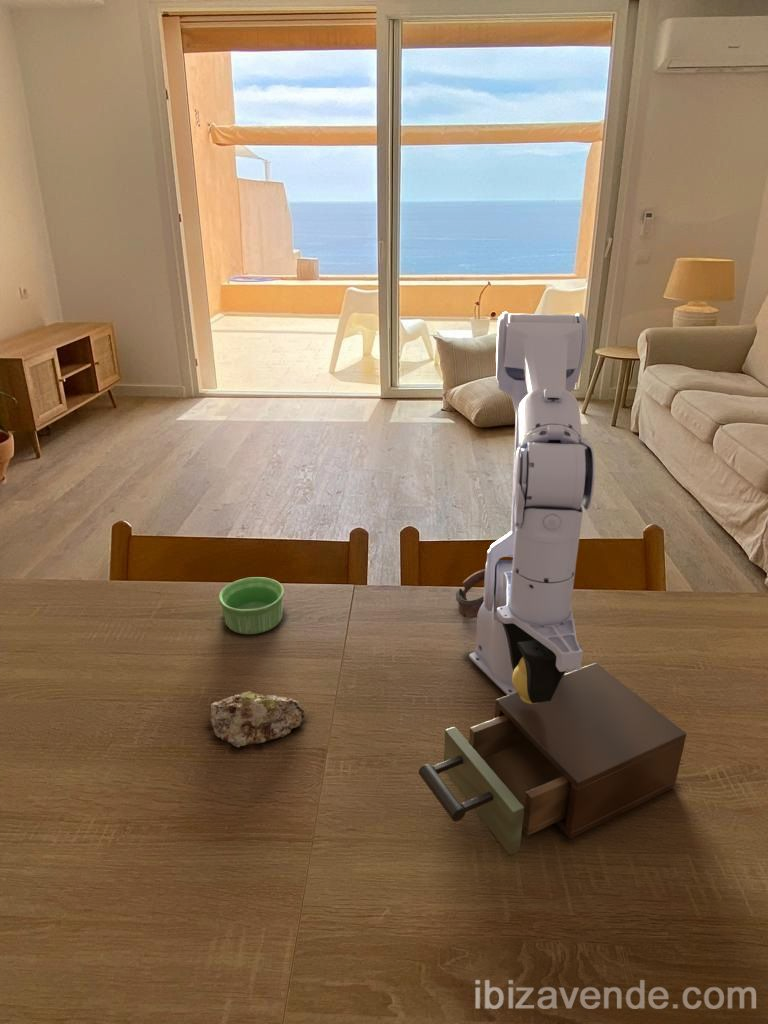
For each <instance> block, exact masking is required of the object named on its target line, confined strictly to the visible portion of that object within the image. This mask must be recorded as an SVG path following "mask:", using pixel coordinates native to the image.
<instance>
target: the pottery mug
mask: <svg viewBox="0 0 768 1024" xmlns="http://www.w3.org/2000/svg"><path fill="white" fill-rule="evenodd" d="M462 581H463V582H462V583H461V585H462V586H463V588H464V589H462V588H458V590H457V591H456V592H455V599H456V602H457V611H458V613H459V615H460V616H462V617H463V618H467V619H477V615H478V611H479V609H480V607H481V605H482V604H483V602H484V595H483V596H481V597H479V598H476V599H472V600H471V599H470V600H468V598H467V593H468V592H469V591H470V590H471V589H472V588H473V587H474V586H475V585H477V584H479V583H480V582H482V581H485V568H484V569H480V570H478V571H476V572H474V573H472V574H471V575H469V576H468V577H466V579H464V580H462Z"/></svg>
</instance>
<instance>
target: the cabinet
mask: <svg viewBox="0 0 768 1024" xmlns="http://www.w3.org/2000/svg"><path fill="white" fill-rule="evenodd" d="M494 706H495V707H494V708H495V709H494V719H495V718H498V717H500V716H503V715H505V716H506V717H507V718H508V719H509V720H510V721H511V722H512V723H513V724H514V725H515V726H516V727H517V728H518V729H519V730H520V731H521V732H522V733H523V734H524V735H525V736H526V737H527V738H528V739H529V740H530V741H531V742H532V743H533V744H534V745H535V746H536V747H537V748H538V749H539V750H540V752H541V753H542V754H543V755H544V756H545V757H546V758H547V759H548V760H549V761H550V762H551V763H552V764H553V765H554V766H555V767H556V768H557V769H558V770H559V771H560V772H561V773H562V774H563V775H564V776H565V777H566V778H567V779H568V780H569V781H570V782H571V783H572V784H571V789H570V796H569V803H568V810H567V817H566V818H564V819H562V820H560V821H558V822H556V823H555V824H556V826H558V828H559V829H560V830H561V831H562V832H563V833H564V834H565V835H566V837H567V838H568V839H572V838H574V837H575V838H576V837H577V836H579V835H581V834H583V833H584V832H587V831H589V830H590V829H593V828H595V827H597V826H599V825H601V824H603V823H605V822H607V821H609V820H611V819H613V818H615V817H618V816H619V815H622V814H624V813H625V812H627V811H630V810H632V809H633V808H635V807H637V806H640V805H641V804H644V803H645V802H648V801H650V800H652V799H654V798H655V797H657V796H660V795H662V794H664V793H666V792H667V791H669V790H671V789H674V788H675V786H676V782H677V778H678V775H679V774H678V773H679V769H680V765H681V761H682V756H683V752H684V747H685V743H686V738H687V732H686V731H684V730H683V729H682V728H680V727H679V726H678V725H677V724H675V723H674V722H673V721H671V720H670V719H669V718H668V717H666V716H665V715H664V714H663V713H661V712H660V711H659V710H658V709H656V708H655V707H654V706H653V705H651V704H650V703H648V702H647V701H646V700H645V699H643V698H642V697H641V696H639V695H638V694H637V693H636V692H634V691H633V689H631V688H629V687H628V686H627V685H625V684H624V683H623V682H621V681H620V680H619V679H618V678H617V677H615V676H614V675H613V674H611V673H610V672H609V671H607V670H606V669H605V668H604V667H602V666H601V665H600V664H599V663H598V662H595V663H591V664H589V665H585V666H584V667H581V669H578V670H572V671H569V672H568V673H567V672H566V673H564V675H563V677H562V678H561V680H560V682H559V684H558V686H557V688H556V691H555V693H554V695H553V697H552V699H551V701H546V702H539V703H536V704H529V703H526V702H524V701H523V700H522V699H521V698H520V695H519V694H518V693H517V692H516V693H513V694H510V695H507V694H506V695H505V696H502V697H500V698H496V699H495V705H494Z"/></svg>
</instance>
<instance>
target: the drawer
mask: <svg viewBox="0 0 768 1024" xmlns="http://www.w3.org/2000/svg"><path fill="white" fill-rule="evenodd" d="M468 736H469V737H468V740H467V739H466V738H465V736H464V735H463V734H462V733H461V732H460V731H459V729H457V727H455V726H453V727H450V728H447V729H445V730H444V744H443V745H444V747H443V748H444V749H443V750H444V751H443V762H440V763H437V764H435V765H431V764H430V763H425V764H423V765H422V766H420V767H419V770H418V775H419V776H420V778H421V779H422V781H423V782H424V783H425V785H426V786H427V787H428V789H429V790H430V791H431V792H432V794H433V796H434V798H436V800H437V801H438V802H439V804H440V805H441V806H442V808H443V809H444V811H445V812H446V814H447V815H448V816H449V818H450V819H451V820H452V822H459V821H461V820H462V819H463V818H464V817H465V815H466V813H467V812H469V811H472V810H474V811H475V812H476V814H477V815H478V816H479V818H480V819H481V821H483V823H484V824H485V825H486V827H487V828H488V829H489V830H490V832H491V833H492V835H493V836H494V837H495V839H496V840H497V841H498V842H499V843H500V845H501V846H502V847H503V849H504V850H505V852H507V854H508V855H509V856H510V855H512V854H514V853H517V852H518V851H520V850H521V841H522V832H523V833H524V834H525V835H526V836H527V837H529V836H531V835H533V834H535V833H537V832H539V831H541V830H543V829H545V828H547V827H549V826H552V825H553V824H556V822H558V821H560V820H562V819H564V818H566V817H567V810H568V803H569V796H570V789H571V784H572V783H571V782H570V781H569V780H568V779H567V778H566V777H565V776H564V775H563V774H562V773H561V772H560V771H559V770H558V769H557V768H556V767H555V766H554V765H553V764H552V763H551V762H550V761H549V760H548V759H547V758H546V757H545V756H544V755H543V754H542V753H541V752H540V750H539V749H538V748H537V747H536V746H535V745H534V744H533V743H532V742H531V741H530V740H529V739H528V738H527V737H526V736H525V735H524V734H523V733H522V732H521V731H520V730H519V729H518V728H517V727H516V726H515V725H514V724H513V723H512V722H511V721H510V720H509V719H508V718H507V717H506V716H505V715H503V716H500V717H498V718H495V717H494V718H493V719H490V720H487V721H485V722H482V723H479V724H477V725H474V726H471V727H470V728H469V734H468ZM443 772H444V773H445V774H446V775H447V777H448V778H449V779H450V780H451V781H452V783H453V784H454V785H455V787H456V788H457V789H458V791H459V792H460V793H461V794H462V796H463V797H464V799H466V801H464V802H462V803H461V802H459V800H458V799H457V797H456V796H455V795H454V794H453V792H452V791H451V789H450V788H449V787H448V785H446V783H445V782H444V780H443V779H442V777H440V775H439V774H440V773H443Z"/></svg>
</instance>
